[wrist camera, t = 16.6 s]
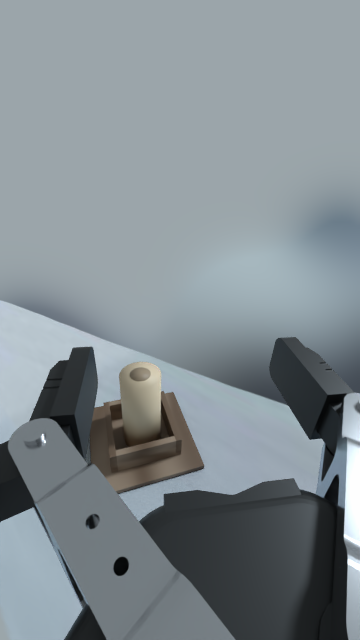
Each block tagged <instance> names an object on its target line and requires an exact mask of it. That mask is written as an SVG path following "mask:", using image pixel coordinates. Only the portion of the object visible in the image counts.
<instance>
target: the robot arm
mask: <svg viewBox="0 0 360 640" xmlns="http://www.w3.org/2000/svg"><path fill="white" fill-rule="evenodd" d="M269 368H270V375H271V378H272V380H273V382H274V383H275V384H276V386H277V388H278V389H279V391H280V392H281V394H282V396H283V398H284V399H285V401H286V402H287V404H288V406H289V407H290V409H291V410H292V412H293V414H294V415H295V417H296V418H297V420H298V422H299V423H300V425H301V426H302V428H303V430H304V431H305V433H306V434H307V436H308V438H309V439H310V440H311V439H321V438H322V439H323V441H324V445H323V447H322V453H321V461H320V469H319V476H318V484H317V490H316V494H314V493H311V492H308V491H304V490H300V489H299V488H298V486H297V484H296V482H295V480H294V478H292V479H283V480H275V481H267V482H262V483H260V484H258V485H256V486H253V487H251V488H249V489H247V490H245V491H242V492H240V493H238V494H235V495H227V494H220V493H214V492H207V491H200V490H194V491H186V492H178V493H169V494H164V505H163V506H161V507H159V508H157V509H155V510H153V511H152V512H150V513H149V514H147V515H146V516H145V517H144V518H142V519H141V520H140V521H138V520H137V519H136V517H135V516H134V515H133V513H132V512H131V511H130V509H129V508H128V507H127V505H126V504H125V503H124V502H123V500H122V499H121V498H120V496H119V495H118V494H117V492H116V491H115V490H114V488H113V487H112V486H111V484H110V483H109V482H108V481H107V479H106V478H105V477H104V475H103V474H102V473H101V471H100V470H99V469H98V468H97V467H96V465H94V464H93V463H91V464H87V463H86V461H85V459H86V453H87V447H88V441H89V435H90V430H91V424H92V418H93V412H94V406H95V400H96V395H97V387H98V378H97V370H96V364H95V357H94V350H93V347H77V348H73V349H72V352H71V355H70V358H69V360H64V361H59V362H58V363H57V364H56V365H55V366H54V367H53V368H52V369H51V370H50V372H49V375H48V377H47V381H46V382H45V384H44V387H43V390H42V392H41V394H40V396H39V399H38V401H37V404H36V406H35V409H34V411H33V413H32V416H31V418H30V421H29V422H27V423H25V424H24V425H22V426H21V427H19V428H18V429H17V430H16V431H15V432H14V433H13V434H12V436H11V438H10V440H9V441H7V442H5V443H2V444H0V522H1V521H3V520H5V519H8V518H10V517H12V516H14V515H17V514H19V513H21V512H23V511H26V510H28V509H30V508H32V507H33V508H34V510H35V512H36V514H37V516H38V518H39V520H40V522H41V524H42V526H43V528H44V530H45V532H46V534H47V536H48V538H49V540H50V542H51V544H52V546H53V548H54V550H55V552H56V554H57V556H58V559H59V561H60V563H61V565H62V567H63V569H64V572H65V574H66V576H67V578H68V580H69V582H70V584H71V586H72V588H73V590H74V592H75V594H76V596H77V598H78V600H79V602H80V604H81V606H82V608H83V609H82V611H81V613H80V614H79V616H78V618H77V619H76V621H75V623H74V624H73V626H72V628H71V629H70V631H69V633H68V634H67V636H66V638H65V639H64V640H360V393H354V392H353V391H352V390H351V388H350V387H349V386H348V385H347V384H346V383H345V382H344V381H343V380H342V379H341V378H340V377H339V376H338V375H337V374H336V373H335V372H334V370H333V371H332V368H330V366H329V365H328V364H326V362H325V361H324V360H323V359H322V358H321V357H320V356H319V355H318V354H317V353H315V352H314V351H312V350H310V349H309V348H305V347H304V346H303V345H302V343H301V342H300V341H299V340H298V339H297V338H296V337H290V338H278V339H277V340H276V342H275V346H274V350H273V354H272V358H271V362H270V367H269Z"/></svg>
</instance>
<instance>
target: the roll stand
mask: <svg viewBox="0 0 360 640" xmlns="http://www.w3.org/2000/svg"><path fill="white" fill-rule="evenodd" d="M90 451H91V463H93V464H94V465H96V467H97V468H98V469H99V470H100V471H101V473H102V474H103V475H104V477H105V478H106V479H107V481H108V482H109V483H110V484H111V486H112V487H113V488H114V490H115V491H116V492H117V494H118V493H121V492H125V491H128V490H131V489H135V488H138V487H142V486H145V485H148V484H152V483H155V482H159V481H162V480H166V479H169V478H172V477H176V476H179V475H183V474H186V473H189V472H193V471H196V470H200V469H203V468H204V464H203V462H202V459H201V457H200V454H199V452H198V450H197V447H196V445H195V443H194V440H193V438H192V435H191V433H190V431H189V428H188V426H187V424H186V421H185V419H184V416H183V414H182V412H181V409H180V407H179V405H178V402H177V400H176V397H175V395H174V393H173V392H171V393H166V394H165V393H164V391H162V392H161V434H160V439H159V440H156V441H152V442H148V443H144V444H140V445H136V446H132V447H128V446H127V444H126V443H125V440H124V430H123V418H122V405H121V400H116V401H111V402H106V403H104V406H101V407H96V408H94V412H93V418H92V424H91V430H90Z"/></svg>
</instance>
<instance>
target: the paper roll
mask: <svg viewBox="0 0 360 640" xmlns="http://www.w3.org/2000/svg"><path fill="white" fill-rule="evenodd" d="M119 381H120V393H121V405H122V418H123V430H124V440H125V443H126V444H127V446H128V447H132V446H136V445H140V444H144V443H148V442H152V441H156V440H159V439H160V434H161V371H160V369H159V368H158V367H157V366H155V365H154V364H151V363H147V362H136V363H132V364H129V365H127V366H126V367H124V368H123V369H122V370H121V372H120V374H119Z"/></svg>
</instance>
